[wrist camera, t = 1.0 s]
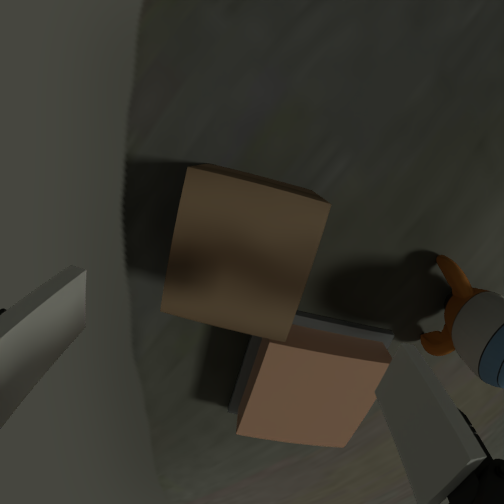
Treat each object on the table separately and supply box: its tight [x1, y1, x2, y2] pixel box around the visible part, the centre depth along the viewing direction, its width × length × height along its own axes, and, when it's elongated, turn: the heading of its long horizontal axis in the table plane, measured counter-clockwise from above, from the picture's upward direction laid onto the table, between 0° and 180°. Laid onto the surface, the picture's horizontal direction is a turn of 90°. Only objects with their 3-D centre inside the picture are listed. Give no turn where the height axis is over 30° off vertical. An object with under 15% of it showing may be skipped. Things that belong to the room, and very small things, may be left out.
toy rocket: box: [421, 255, 504, 388], centre depth 23 cm, size 10×11×15 cm
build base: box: [228, 311, 395, 448], centre depth 30 cm, size 14×14×5 cm
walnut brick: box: [160, 163, 331, 342], centre depth 24 cm, size 10×9×8 cm
